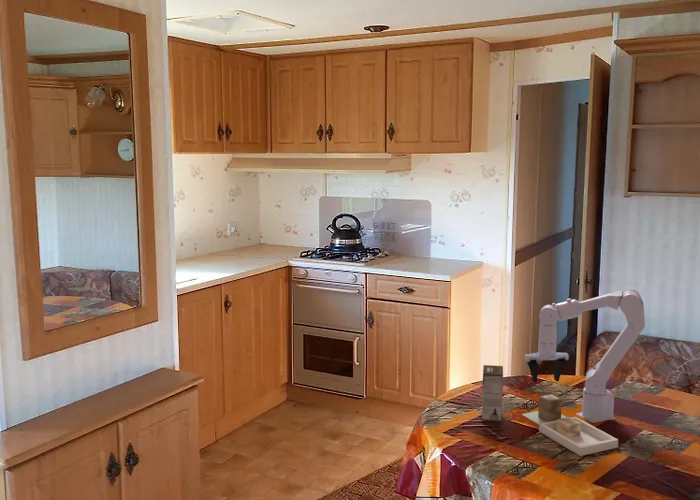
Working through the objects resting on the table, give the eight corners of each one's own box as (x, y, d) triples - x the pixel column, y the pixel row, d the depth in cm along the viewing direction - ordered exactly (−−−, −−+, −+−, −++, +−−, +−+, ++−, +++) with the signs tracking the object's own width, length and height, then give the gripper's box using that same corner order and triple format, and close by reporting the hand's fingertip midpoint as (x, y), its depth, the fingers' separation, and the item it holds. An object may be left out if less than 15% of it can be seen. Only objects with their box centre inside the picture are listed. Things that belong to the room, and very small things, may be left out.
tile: (550, 410, 221) (551, 408, 220) (576, 424, 210) (576, 422, 209) (521, 416, 216) (521, 414, 216) (545, 430, 205) (545, 428, 205)
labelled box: (550, 414, 215) (551, 393, 214) (560, 420, 211) (562, 399, 210) (538, 416, 213) (539, 395, 212) (548, 422, 209) (549, 401, 208)
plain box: (569, 429, 205) (569, 417, 204) (580, 435, 200) (581, 423, 199) (556, 431, 203) (556, 419, 202) (567, 438, 198) (568, 425, 198)
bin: (574, 425, 209) (575, 416, 208) (617, 449, 192) (618, 439, 192) (538, 432, 203) (539, 423, 203) (580, 457, 187) (580, 448, 187)
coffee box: (481, 410, 221) (483, 364, 219) (501, 411, 220) (502, 365, 217) (481, 421, 212) (483, 373, 210) (501, 422, 211) (503, 374, 209)
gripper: (531, 346, 212) (529, 386, 214) (573, 344, 214) (571, 384, 216) (522, 339, 219) (521, 378, 221) (564, 338, 221) (561, 376, 223)
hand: (545, 381), depth 219 cm, fingers open, 7 cm apart
